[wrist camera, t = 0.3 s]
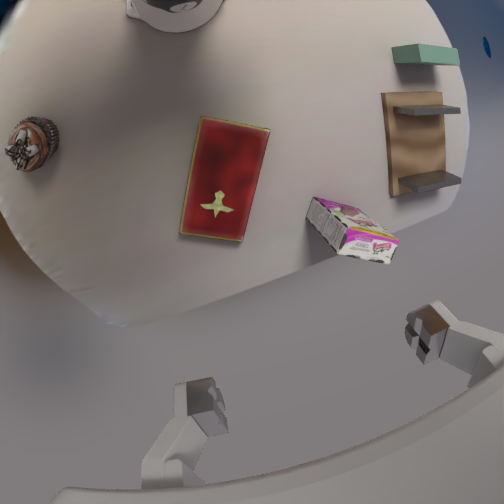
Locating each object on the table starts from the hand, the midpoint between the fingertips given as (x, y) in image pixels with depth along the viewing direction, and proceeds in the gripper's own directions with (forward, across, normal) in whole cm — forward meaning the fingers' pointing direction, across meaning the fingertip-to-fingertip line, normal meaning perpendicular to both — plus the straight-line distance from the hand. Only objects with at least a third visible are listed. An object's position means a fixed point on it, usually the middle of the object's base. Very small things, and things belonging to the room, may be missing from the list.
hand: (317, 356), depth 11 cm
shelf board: (+47, -41, +6) cm, 63 cm away
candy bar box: (+47, -19, +17) cm, 54 cm away
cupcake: (+48, +32, -14) cm, 59 cm away
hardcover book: (+48, +1, +5) cm, 48 cm away
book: (+47, -43, -13) cm, 66 cm away
